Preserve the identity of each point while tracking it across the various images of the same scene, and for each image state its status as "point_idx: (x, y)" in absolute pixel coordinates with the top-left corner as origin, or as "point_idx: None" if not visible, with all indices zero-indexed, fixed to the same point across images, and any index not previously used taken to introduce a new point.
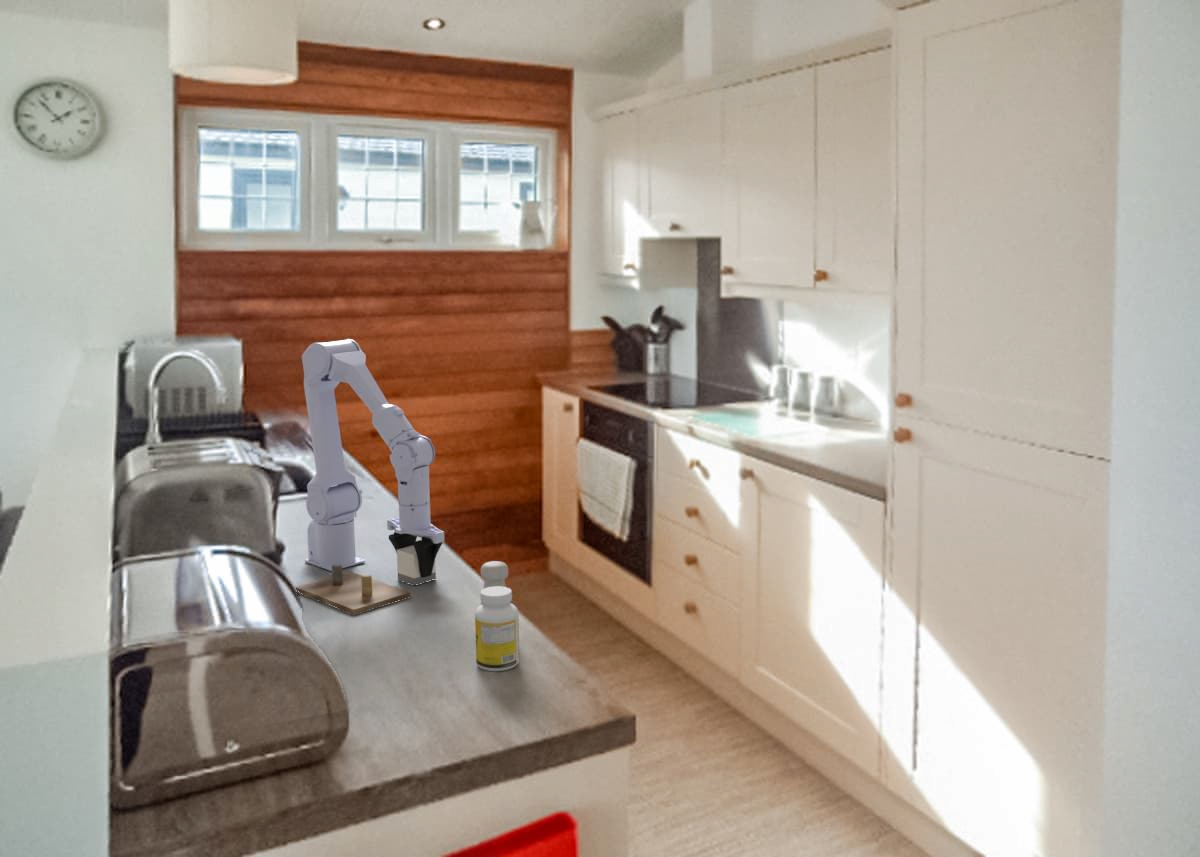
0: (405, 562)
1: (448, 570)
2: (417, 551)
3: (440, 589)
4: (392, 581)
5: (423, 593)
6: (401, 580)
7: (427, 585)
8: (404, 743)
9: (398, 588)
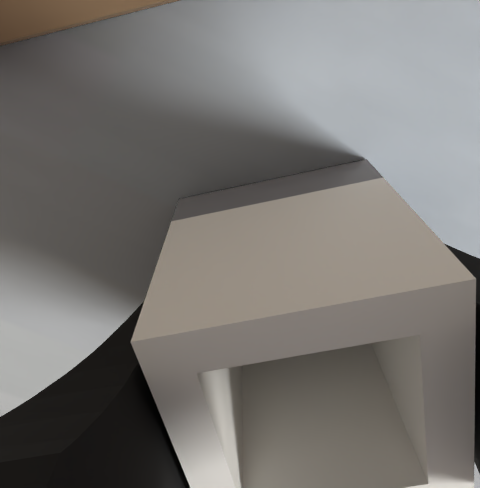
0: (287, 249)
1: None
2: (78, 404)
3: (40, 296)
4: (378, 118)
5: (6, 183)
6: (327, 171)
7: (153, 269)
8: None
9: (55, 24)
